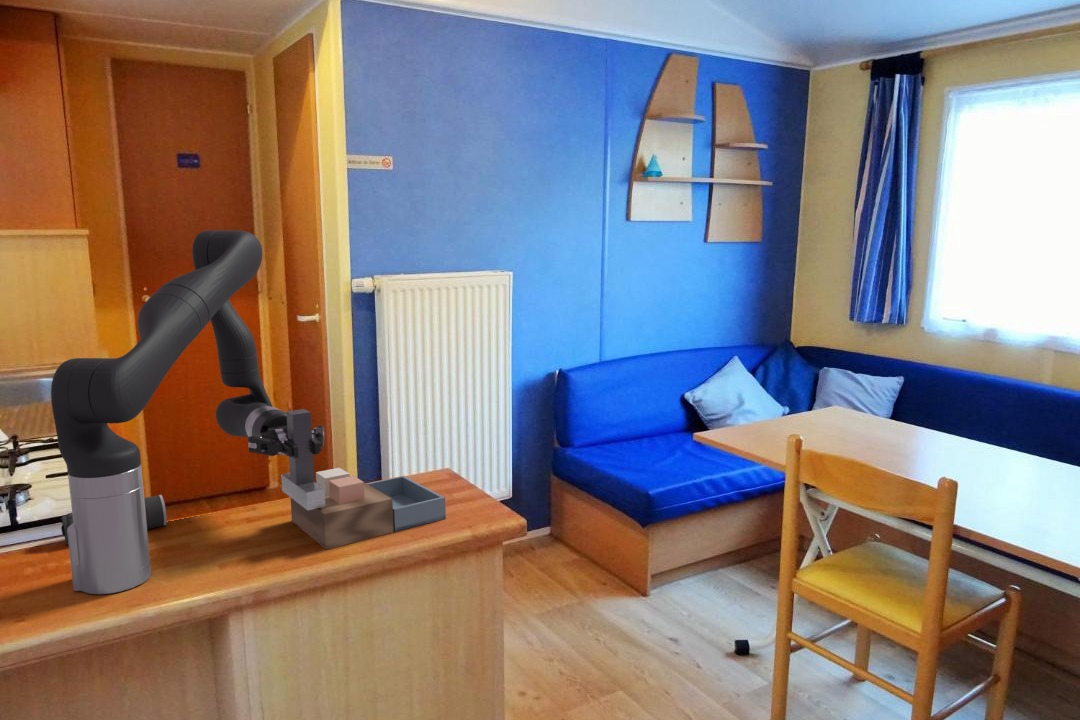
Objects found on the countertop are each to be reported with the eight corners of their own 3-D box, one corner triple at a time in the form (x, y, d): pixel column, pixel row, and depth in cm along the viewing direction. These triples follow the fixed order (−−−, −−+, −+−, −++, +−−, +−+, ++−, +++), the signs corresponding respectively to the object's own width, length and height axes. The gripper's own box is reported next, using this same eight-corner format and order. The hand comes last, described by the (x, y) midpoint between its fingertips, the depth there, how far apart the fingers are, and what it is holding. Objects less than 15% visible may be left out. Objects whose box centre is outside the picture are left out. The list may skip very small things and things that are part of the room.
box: (395, 531, 130) (394, 509, 130) (356, 506, 143) (355, 485, 142) (445, 518, 136) (445, 497, 136) (404, 495, 149) (403, 475, 148)
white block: (326, 495, 131) (325, 478, 131) (316, 488, 135) (315, 472, 134) (350, 489, 134) (349, 473, 133) (340, 483, 137) (339, 467, 137)
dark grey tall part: (307, 510, 122) (302, 420, 120) (282, 490, 132) (277, 406, 129) (325, 506, 124) (321, 417, 122) (299, 487, 133) (294, 404, 131)
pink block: (339, 504, 126) (339, 487, 126) (329, 497, 130) (328, 480, 129) (364, 499, 129) (363, 482, 129) (353, 492, 132) (353, 475, 132)
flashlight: (64, 550, 123) (61, 519, 122) (61, 540, 128) (58, 509, 127) (167, 529, 132) (165, 499, 131) (161, 520, 137) (159, 491, 136)
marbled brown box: (326, 549, 123) (324, 514, 122) (291, 520, 135) (290, 488, 134) (393, 532, 130) (392, 498, 129) (354, 506, 143) (353, 475, 142)
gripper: (230, 414, 133) (262, 435, 119) (309, 404, 141) (346, 421, 128) (233, 456, 134) (265, 480, 120) (311, 443, 142) (348, 464, 129)
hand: (306, 450), depth 124 cm, fingers closed on dark grey tall part, 3 cm apart
